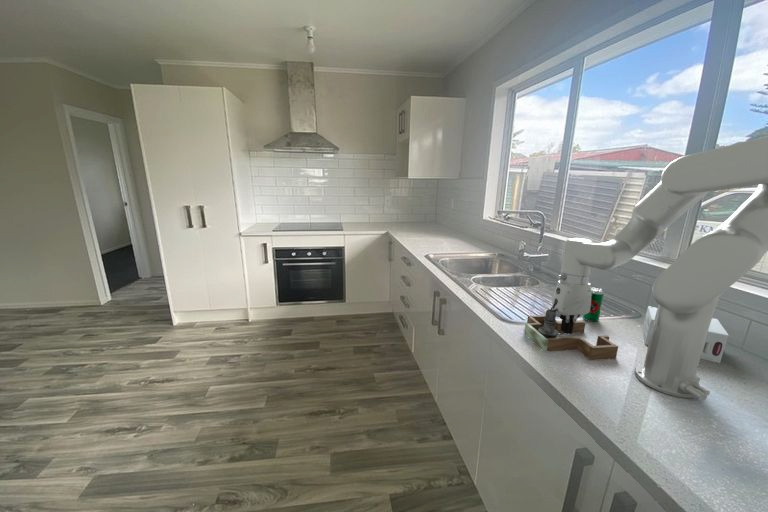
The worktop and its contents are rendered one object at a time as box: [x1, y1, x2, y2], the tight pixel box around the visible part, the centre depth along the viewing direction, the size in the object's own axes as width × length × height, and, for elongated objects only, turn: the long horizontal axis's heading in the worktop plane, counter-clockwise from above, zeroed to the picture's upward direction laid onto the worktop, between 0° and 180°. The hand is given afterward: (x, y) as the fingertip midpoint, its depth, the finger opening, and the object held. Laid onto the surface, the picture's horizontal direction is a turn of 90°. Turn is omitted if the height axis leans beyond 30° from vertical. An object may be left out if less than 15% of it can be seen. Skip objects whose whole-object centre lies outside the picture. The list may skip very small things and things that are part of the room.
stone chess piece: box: [538, 306, 560, 338], centre depth 97 cm, size 6×6×12 cm
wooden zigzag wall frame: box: [523, 314, 619, 361], centre depth 98 cm, size 22×21×4 cm
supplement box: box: [642, 305, 730, 364], centre depth 95 cm, size 17×13×9 cm
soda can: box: [582, 287, 605, 323], centre depth 112 cm, size 5×5×12 cm
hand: (566, 331), depth 98 cm, fingers closed
